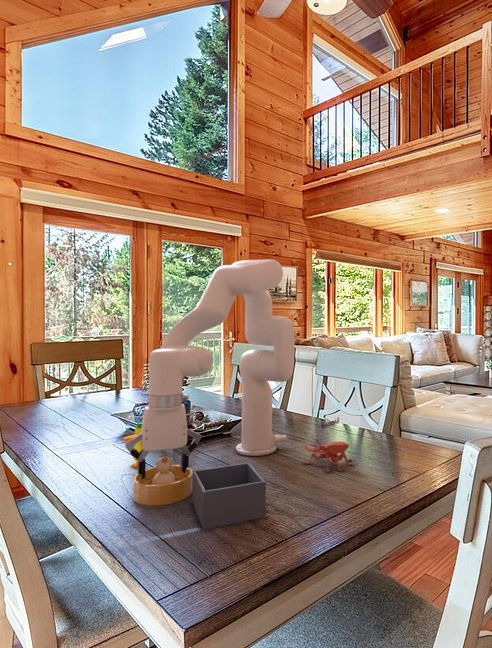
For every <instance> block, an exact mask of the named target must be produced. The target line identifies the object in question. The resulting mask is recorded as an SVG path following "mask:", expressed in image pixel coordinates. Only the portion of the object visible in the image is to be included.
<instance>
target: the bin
mask: <svg viewBox="0 0 492 648" xmlns="http://www.w3.org/2000/svg"><path fill="white" fill-rule="evenodd" d="M192 471H193V481H192V493H191V496H192V497H191V503H192V505H193V507H194V510H195V512H196V515H197V517H198V520H199V522H200V524H201V527H200V528H201V529H202V531H204V530H205V531H206V530H209V529H215V528H219V527H223V526H224V527H225V526H229V525H233V524H238V523H239V524H240V523H243V522H248V521H253V520H258V519H262V518H266V505H267V504H266V501H267V500H266V497H267V494H266V493H267V481H266V480H265V479H264V478H263V476H262V475H261V474H260V473H259V472H258V470H256V469H255V467H254V466H253V465H252V464H251V463H250V462H249V461H248V462H243V463H236V464H228V465H223V466H215V467H208V468H201V469H196V470H195V469H193V470H192Z"/></svg>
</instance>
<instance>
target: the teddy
mask: <svg viewBox="0 0 492 648" xmlns="http://www.w3.org/2000/svg"><path fill="white" fill-rule="evenodd" d="M172 465H173V461H172V459H171V458H170V457H168V455H167V454H166V453H162V454H161V455H160V458H159V459H157V461H156V463H155V467H156V469H157V470H158V471H159V473H157V474H156V475H155V477H154V478H153V480H152V485H163V484H169V483H174V482H175V477H174V475H173V474H172V473H171V472H169V470H170V469H171V467H172Z"/></svg>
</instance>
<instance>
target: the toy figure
mask: <svg viewBox="0 0 492 648" xmlns="http://www.w3.org/2000/svg"><path fill="white" fill-rule="evenodd" d="M141 430H142V422H136V426H135V428H134V434H131V435H127V436H124V437H123V439H122V440H123V441H125V443H126V442H128V441H129V440H131V439H132V438H134V437H135V436H137V435H138V434H140V433H141ZM134 448H135V449H136V450H137V451H138V452H140V451H141V450H142V445H141V440H140V441H139V442H137V443H136V444H135V446H134ZM132 458H133V460H134V462H133V463H132V464H131V467H132V468H133V469H135V468H138V460H137V459H136V458H134V457H133V456H132Z"/></svg>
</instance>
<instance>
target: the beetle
mask: <svg viewBox="0 0 492 648" xmlns="http://www.w3.org/2000/svg"><path fill="white" fill-rule="evenodd" d="M339 423H340V417H336V419H334V420H332V421H329V422H326V423H323V424H322V423H321V424H320V427H321V430H324V429H327V428H329V427H332V426H334V425H337V424H339ZM309 446H312V447H313V448H310V447H308V446H306V445H304V446H303V447H304V449H305V450H306V451H307V452H312V453H311V456H310V459H309V461H307V460H305V461H304V465H310V463H311V462H312V460H313V458H314V459H315V461H320V460H321V459H324V458H325V460H326V461H325V462H326V463H325V464H326V470H325V473H330V469H329V468H330V467H329V464H330V460H331V462H332V464H336V467H337V470H338V471H339V472H343V468H340V462H341V461H342V460H343V459H344V460H345V463H346V465H347V466H351V467H352V466H353V465H354V464H353V462H352V461H353V460H352V458H351V457H349V458H347V455H346V451H347V450H348V449H349V448H350V444H349V443H346V442H345V441H332V442H330V443H322V444H319V445H316V444H312V443H309ZM316 453H318V454H320V455H319V456H317V454H316ZM339 461H340V462H339ZM350 462H351V463H350Z"/></svg>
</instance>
